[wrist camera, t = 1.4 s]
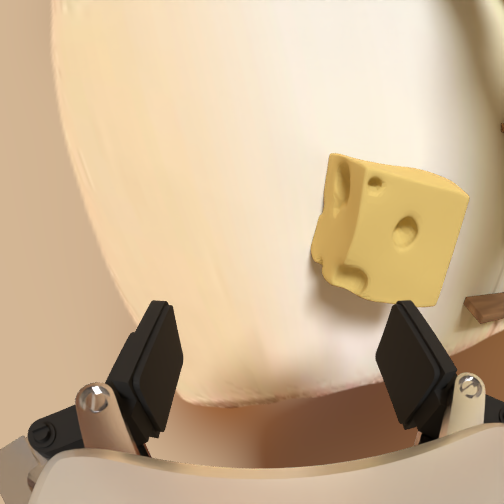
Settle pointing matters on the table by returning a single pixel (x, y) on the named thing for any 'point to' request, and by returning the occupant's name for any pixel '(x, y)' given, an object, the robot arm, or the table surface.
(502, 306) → the wooden u-shaped bracket
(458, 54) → the table surface
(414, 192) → the cheese
